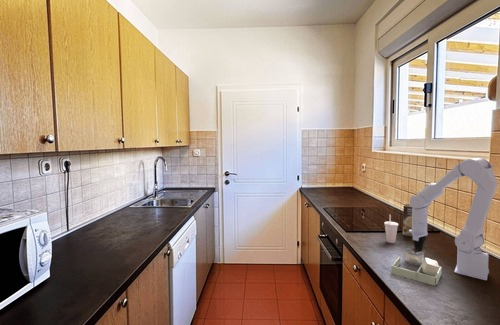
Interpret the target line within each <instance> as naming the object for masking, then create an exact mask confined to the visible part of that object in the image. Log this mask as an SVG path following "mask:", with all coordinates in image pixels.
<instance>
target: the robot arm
mask: <svg viewBox="0 0 500 325" xmlns="http://www.w3.org/2000/svg"><path fill="white" fill-rule="evenodd" d="M461 177H462V178H463V177H467V178H469V179H470V180H471V181H473V183H474V184H475V185H476V189H475V193H474V196H473V198H472V199H473V200H472V202H471V205H470V209H469V212H468V215H467V217H466V222H465V225H463V227H462V229H461V230H460V233H459V234H457V236H456V237H455V238H454V244H455V246H456V247H457V249H456V250H457V253H456V254H457V255H456V266H455V268H454V273H455V274H458V275H463V276H468V277H471V278H475V279H479V280H483V281H488V276H489V274H490V269H489V253H487V252H484V251H482V248H481V246H483V245H484V244H485V237H484V235H485V230H484V226H485V223H486V221H487V216H488V214H489V210H490V209H491V204H492V201H493V199H494V197H495V193H496V191H497V187H498V181H497V178H496V175H495V173H494V165H492V163H490V162H489V161H488V160H487V159H486V158H483V157H475V158H467V159H464V160H463V161H461V162H460V163H458V164H456V165H455V166H453V168H451V169H450V170H449V171H448V172H447V173H445V175H443V176H442V178H440V179H439V180H438V181H437V182H436V183H435V182H431V183H427V184H426V185H425V188H423V189H422V190H421V191H418V192H417V194H415V195H411V197H410V198H409V204H410V205H411V206H412V230H409V232H411V233H412V236H410V238H411V241H412V242H413V245H414V249H418V250H421V251H423V250H424V247H425V246H424V245H425V244H426V241H427V239H428V235H429V233H428V210H429V209H428V207H429V206H430V205H431V203H432V202H434V201H435V200H436V199H438V198H439V197H440V196H442V195H443V193H444V189H445V188H447V187H448V186H449V185H451V184H452V183H454V182H455V181H457V180H458V179H460V178H461ZM423 252H424V251H423Z"/></svg>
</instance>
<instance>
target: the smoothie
mask: <svg viewBox="0 0 500 325" xmlns="http://www.w3.org/2000/svg"><path fill="white" fill-rule="evenodd" d="M391 218H392V215H391V214H389V221H384V224H383V225H384V230H385V235H386V242H387V243H389V244H395V243H396V239H397V234H398V233H397V232H398V227H399V223H398V222H395V221H392V219H391Z"/></svg>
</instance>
